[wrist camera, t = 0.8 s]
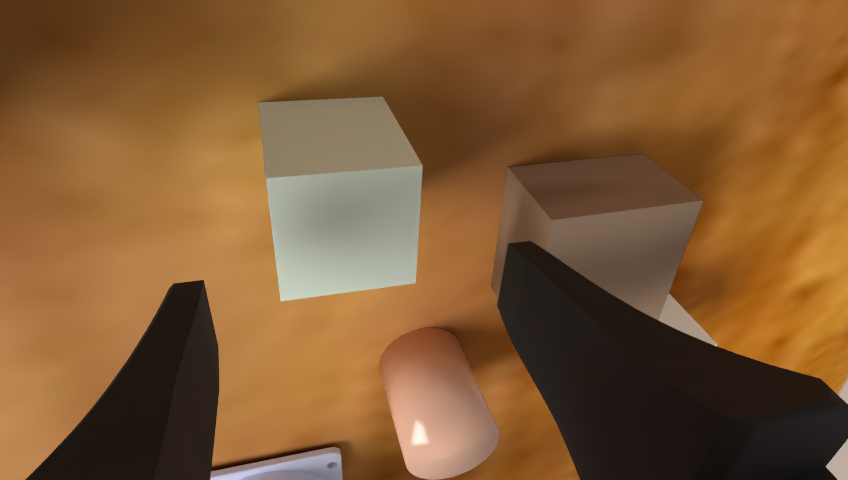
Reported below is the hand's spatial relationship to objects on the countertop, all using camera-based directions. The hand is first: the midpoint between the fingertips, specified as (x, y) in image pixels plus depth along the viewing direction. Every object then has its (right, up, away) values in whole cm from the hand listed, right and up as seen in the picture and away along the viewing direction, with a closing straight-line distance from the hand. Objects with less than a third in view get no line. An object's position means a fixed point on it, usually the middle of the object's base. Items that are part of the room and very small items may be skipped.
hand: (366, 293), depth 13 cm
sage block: (-2, +4, +6) cm, 8 cm away
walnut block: (+7, +2, +11) cm, 13 cm away
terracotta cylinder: (+1, -4, +13) cm, 14 cm away
